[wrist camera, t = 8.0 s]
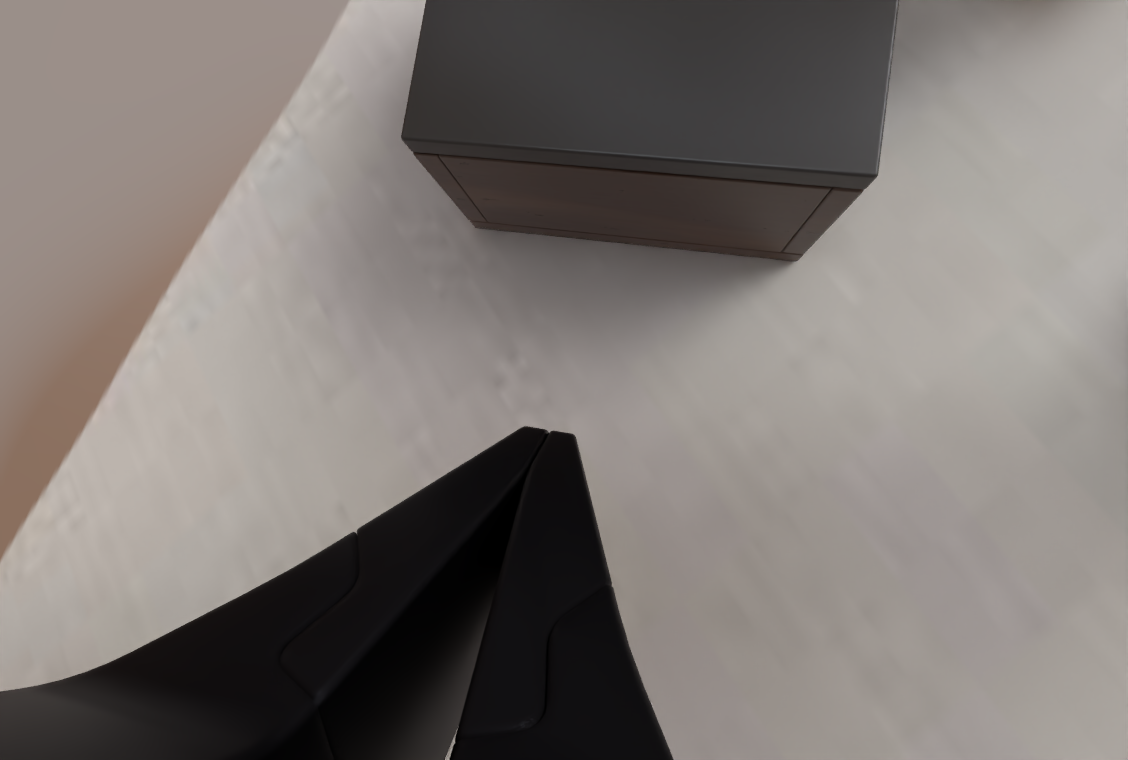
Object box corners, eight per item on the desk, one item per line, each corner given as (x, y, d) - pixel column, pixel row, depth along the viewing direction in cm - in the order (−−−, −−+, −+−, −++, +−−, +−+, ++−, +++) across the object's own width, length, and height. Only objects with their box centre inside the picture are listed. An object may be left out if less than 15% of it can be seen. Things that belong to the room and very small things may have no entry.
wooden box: (516, -16, 22) (471, -176, 16) (832, -7, 20) (911, -184, 14) (474, 228, 22) (412, 154, 16) (797, 262, 20) (865, 192, 14)
